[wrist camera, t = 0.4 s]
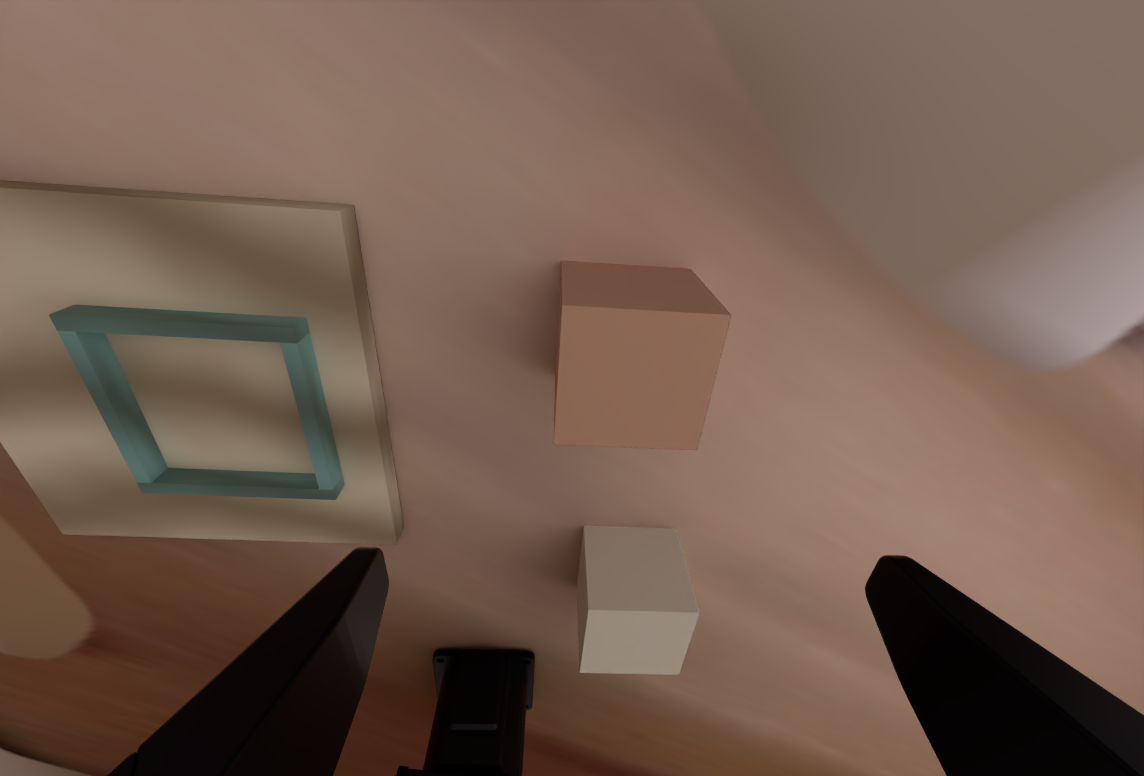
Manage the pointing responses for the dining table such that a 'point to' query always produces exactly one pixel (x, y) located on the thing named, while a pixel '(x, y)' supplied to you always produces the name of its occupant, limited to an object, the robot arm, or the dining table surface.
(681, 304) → the terracotta block
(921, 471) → the dining table surface
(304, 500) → the base plate
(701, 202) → the dining table surface
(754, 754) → the dining table surface
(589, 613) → the cream block
